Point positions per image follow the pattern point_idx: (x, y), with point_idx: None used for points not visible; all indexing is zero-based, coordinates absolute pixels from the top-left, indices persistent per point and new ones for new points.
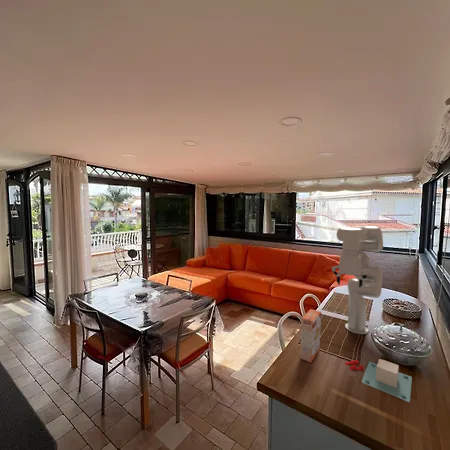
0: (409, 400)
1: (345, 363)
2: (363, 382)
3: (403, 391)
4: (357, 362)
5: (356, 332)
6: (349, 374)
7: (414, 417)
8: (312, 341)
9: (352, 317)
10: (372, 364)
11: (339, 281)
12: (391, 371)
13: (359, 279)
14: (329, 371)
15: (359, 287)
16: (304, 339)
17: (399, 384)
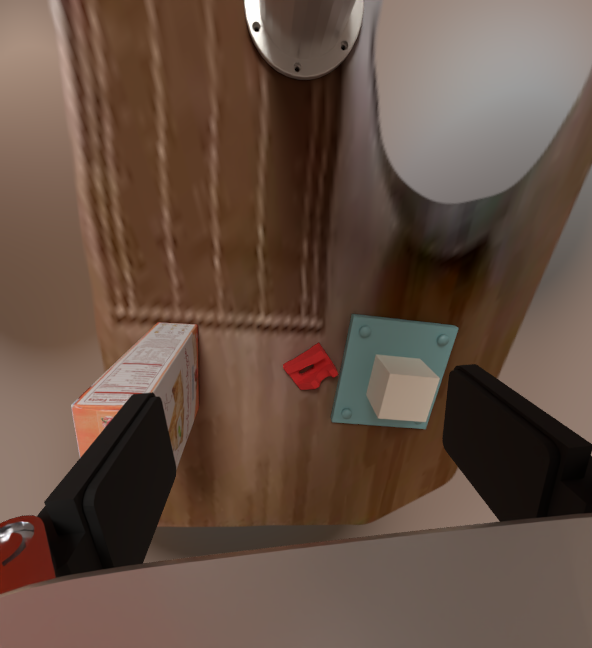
0: (426, 423)
1: (288, 369)
2: (336, 420)
3: None
4: (321, 358)
5: (307, 77)
6: (301, 394)
7: (422, 450)
8: (181, 454)
9: (288, 11)
10: (362, 336)
11: (157, 515)
12: (413, 419)
13: (541, 508)
14: (252, 411)
15: (447, 439)
16: None
17: None
